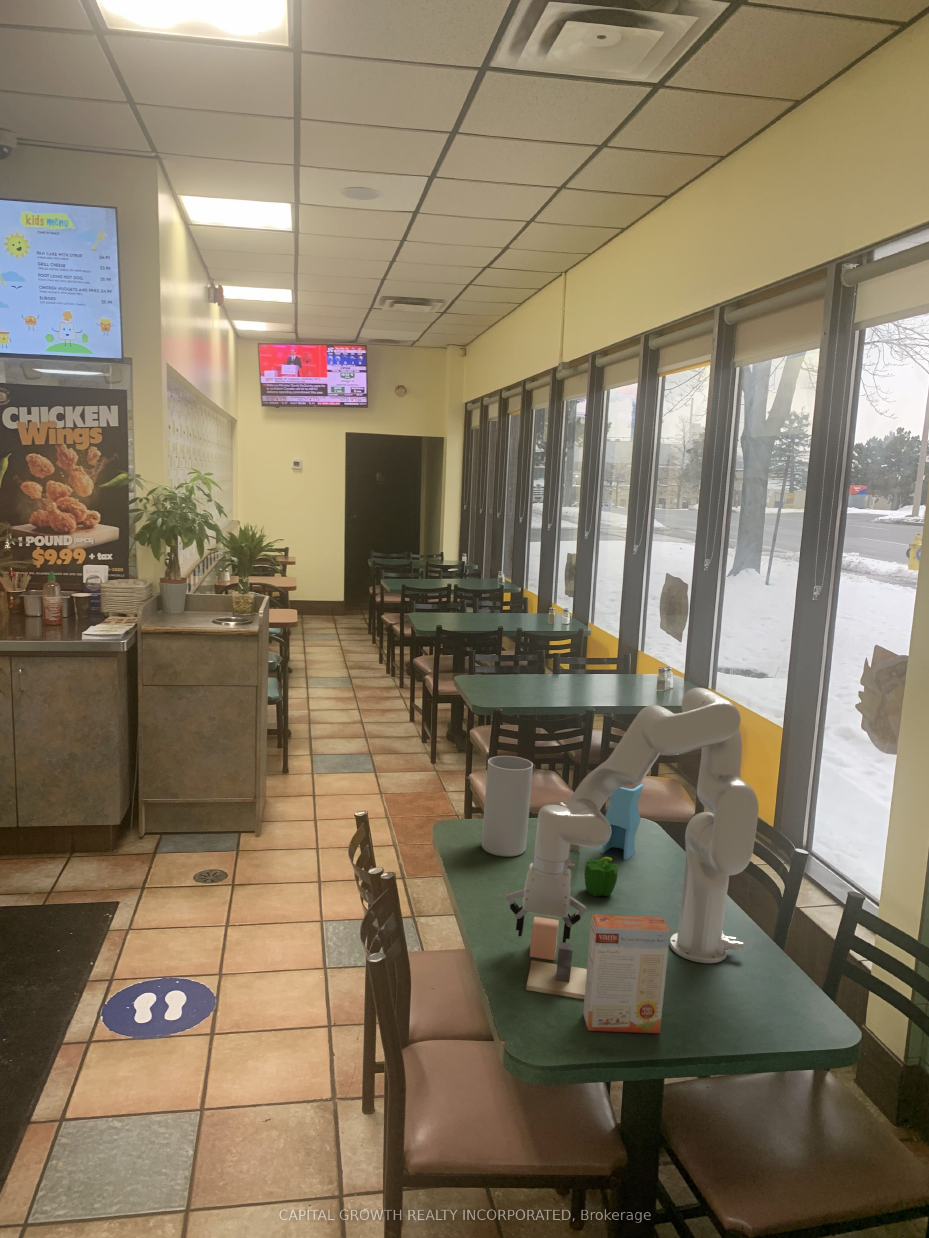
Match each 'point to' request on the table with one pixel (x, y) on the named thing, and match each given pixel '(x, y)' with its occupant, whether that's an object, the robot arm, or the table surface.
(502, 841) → the cylinder vase
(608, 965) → the cracker box
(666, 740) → the robot arm
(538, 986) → the post
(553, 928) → the pale pink upright block
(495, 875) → the table surface
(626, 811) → the light blue tall piece
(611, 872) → the bell pepper
